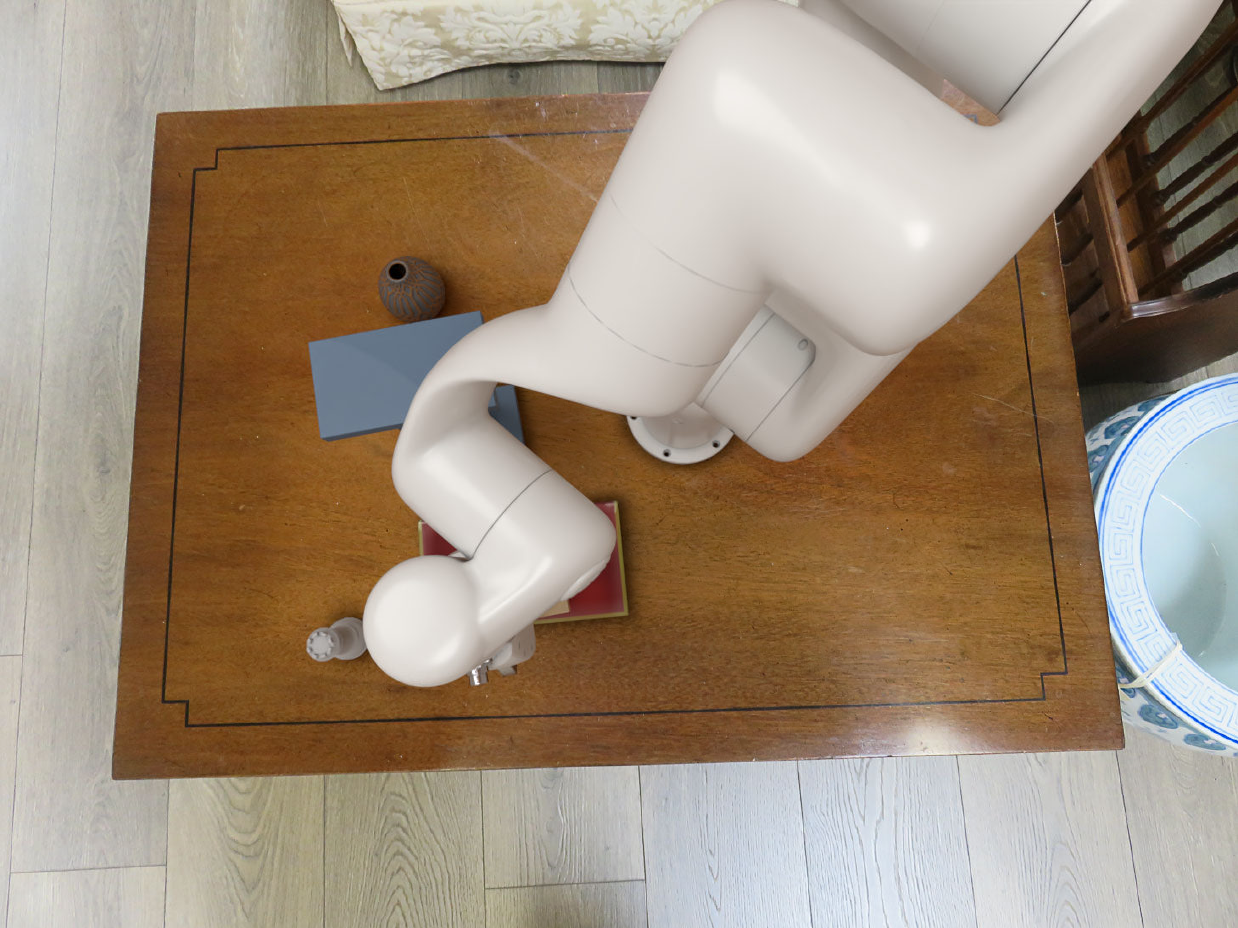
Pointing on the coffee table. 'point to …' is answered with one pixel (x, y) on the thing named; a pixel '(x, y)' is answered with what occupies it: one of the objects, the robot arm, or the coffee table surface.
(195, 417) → the coffee table surface
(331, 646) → the rook chess piece
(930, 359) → the coffee table surface
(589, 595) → the hardcover book
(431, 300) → the vase
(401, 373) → the stand
